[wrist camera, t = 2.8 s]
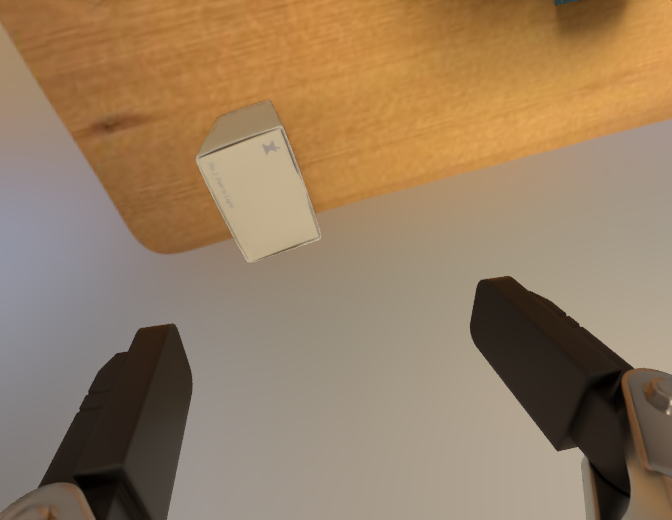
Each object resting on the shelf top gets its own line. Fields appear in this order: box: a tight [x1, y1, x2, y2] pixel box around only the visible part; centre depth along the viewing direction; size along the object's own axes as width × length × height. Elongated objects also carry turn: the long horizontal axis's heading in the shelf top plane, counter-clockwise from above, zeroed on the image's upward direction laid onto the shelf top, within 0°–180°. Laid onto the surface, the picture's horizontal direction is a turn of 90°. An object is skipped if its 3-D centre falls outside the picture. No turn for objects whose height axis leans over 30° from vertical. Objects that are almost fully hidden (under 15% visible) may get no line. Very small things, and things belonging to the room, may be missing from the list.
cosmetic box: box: [195, 100, 321, 263], centre depth 23 cm, size 6×4×12 cm
